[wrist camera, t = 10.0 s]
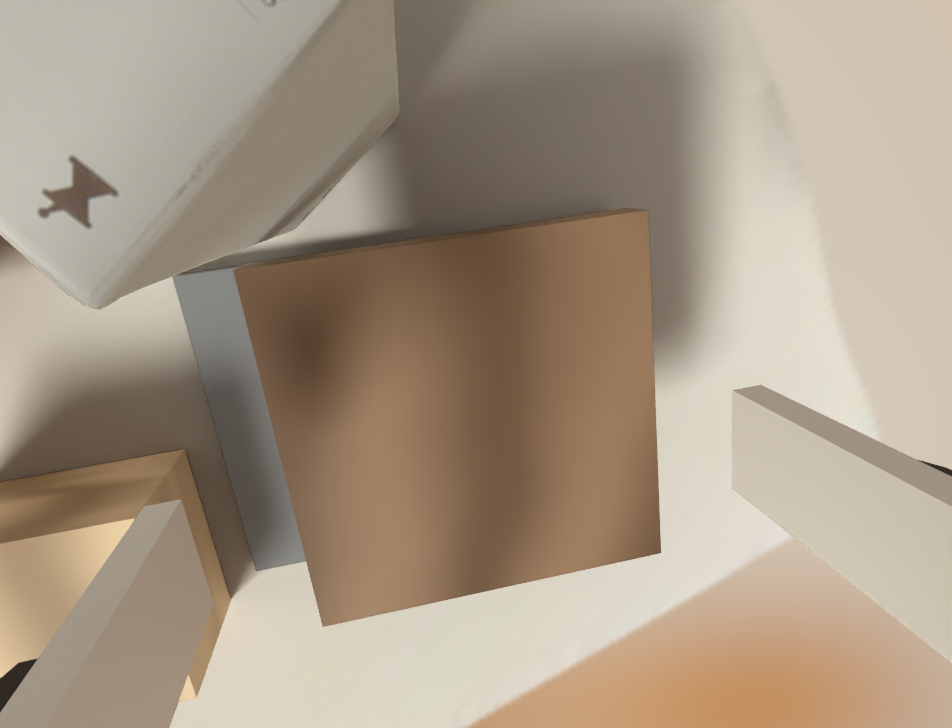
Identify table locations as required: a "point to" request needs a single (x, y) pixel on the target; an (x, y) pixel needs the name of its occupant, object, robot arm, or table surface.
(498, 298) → the board
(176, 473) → the light wooden block
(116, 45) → the skincare box
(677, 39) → the table surface
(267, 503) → the placemat
